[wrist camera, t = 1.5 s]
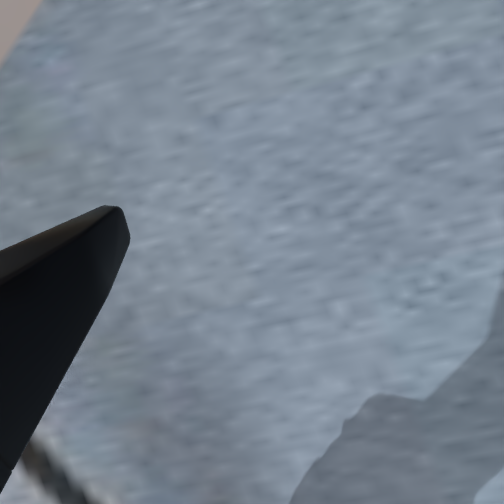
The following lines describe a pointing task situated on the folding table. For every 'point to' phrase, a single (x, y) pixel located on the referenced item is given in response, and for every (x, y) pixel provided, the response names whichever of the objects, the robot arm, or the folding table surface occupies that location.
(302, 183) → the folding table surface
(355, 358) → the folding table surface
